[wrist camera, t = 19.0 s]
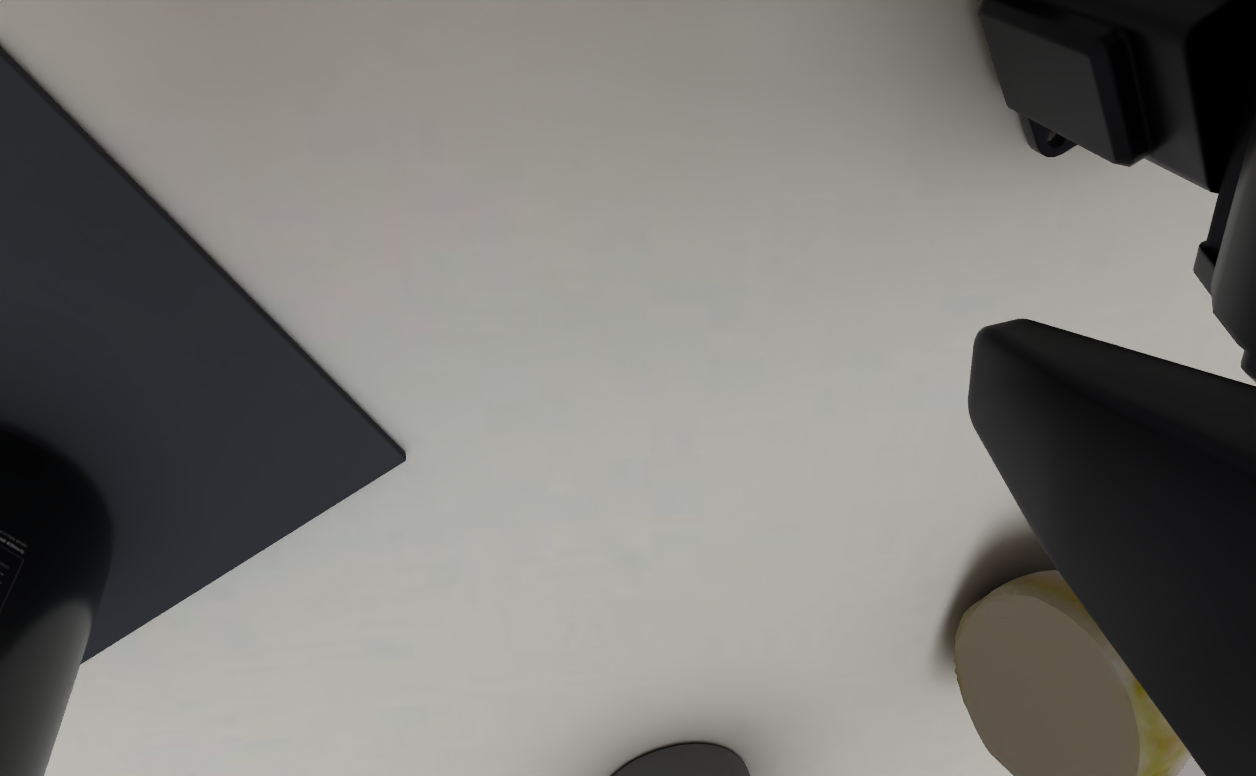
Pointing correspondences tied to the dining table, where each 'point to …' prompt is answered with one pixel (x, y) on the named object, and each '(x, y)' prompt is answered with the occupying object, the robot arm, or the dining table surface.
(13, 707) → the supplement bottle
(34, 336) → the mat
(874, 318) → the dining table surface
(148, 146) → the dining table surface
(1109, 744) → the mug
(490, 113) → the dining table surface
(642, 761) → the bottle
